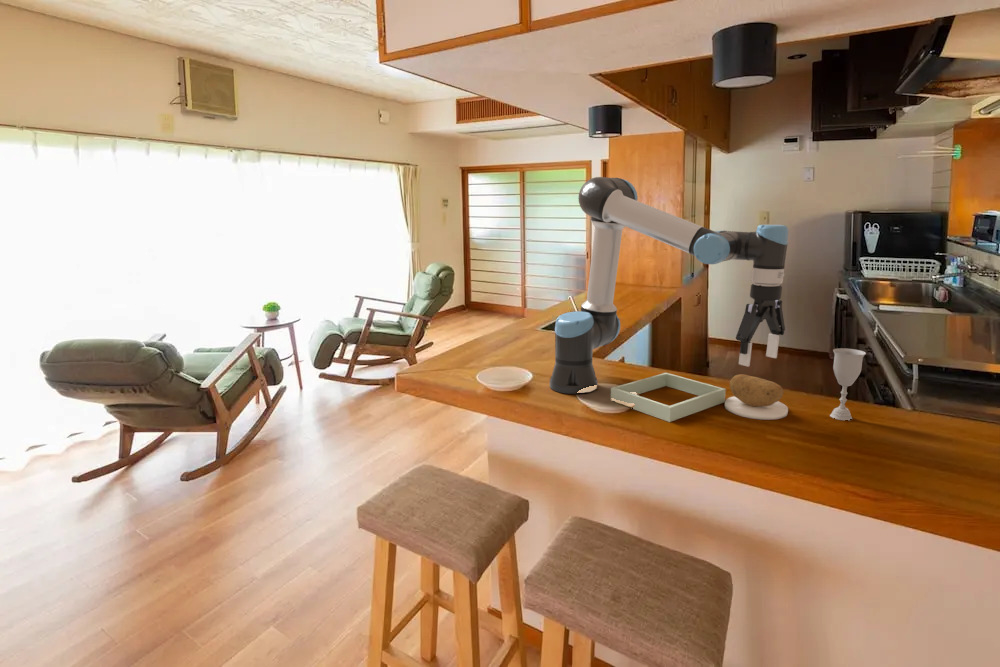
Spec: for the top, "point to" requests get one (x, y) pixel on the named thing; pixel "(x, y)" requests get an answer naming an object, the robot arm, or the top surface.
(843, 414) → the chalice
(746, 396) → the potato
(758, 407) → the plate
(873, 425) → the top surface
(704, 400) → the crate
